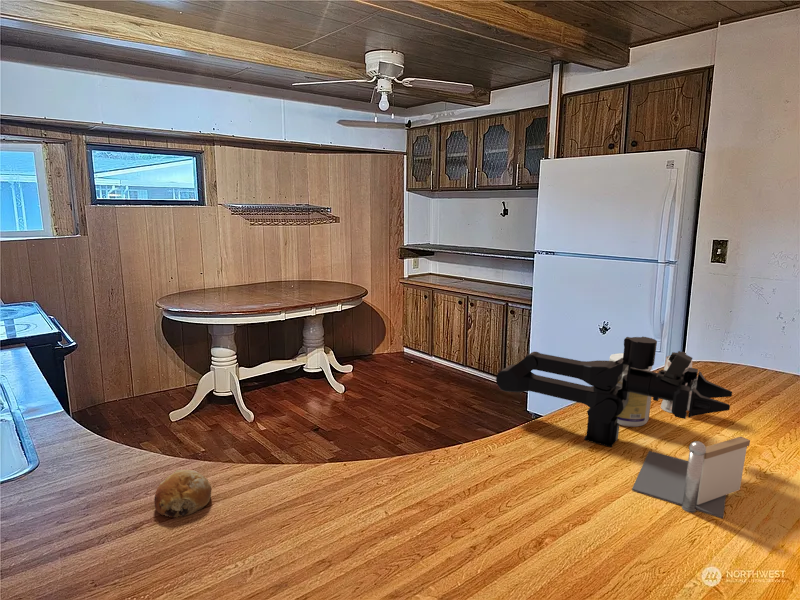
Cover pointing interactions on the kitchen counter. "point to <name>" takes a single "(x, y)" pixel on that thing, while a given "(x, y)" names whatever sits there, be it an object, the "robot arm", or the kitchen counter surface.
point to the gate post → (693, 476)
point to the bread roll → (182, 493)
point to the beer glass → (667, 404)
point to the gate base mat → (671, 482)
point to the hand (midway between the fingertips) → (730, 400)
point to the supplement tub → (633, 403)
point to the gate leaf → (722, 469)
